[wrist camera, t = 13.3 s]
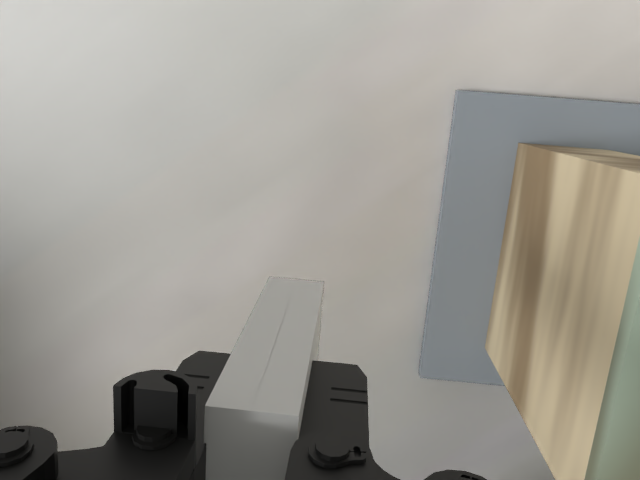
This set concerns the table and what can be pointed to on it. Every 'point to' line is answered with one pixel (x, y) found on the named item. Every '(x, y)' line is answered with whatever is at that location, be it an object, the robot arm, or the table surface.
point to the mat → (495, 211)
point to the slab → (572, 308)
